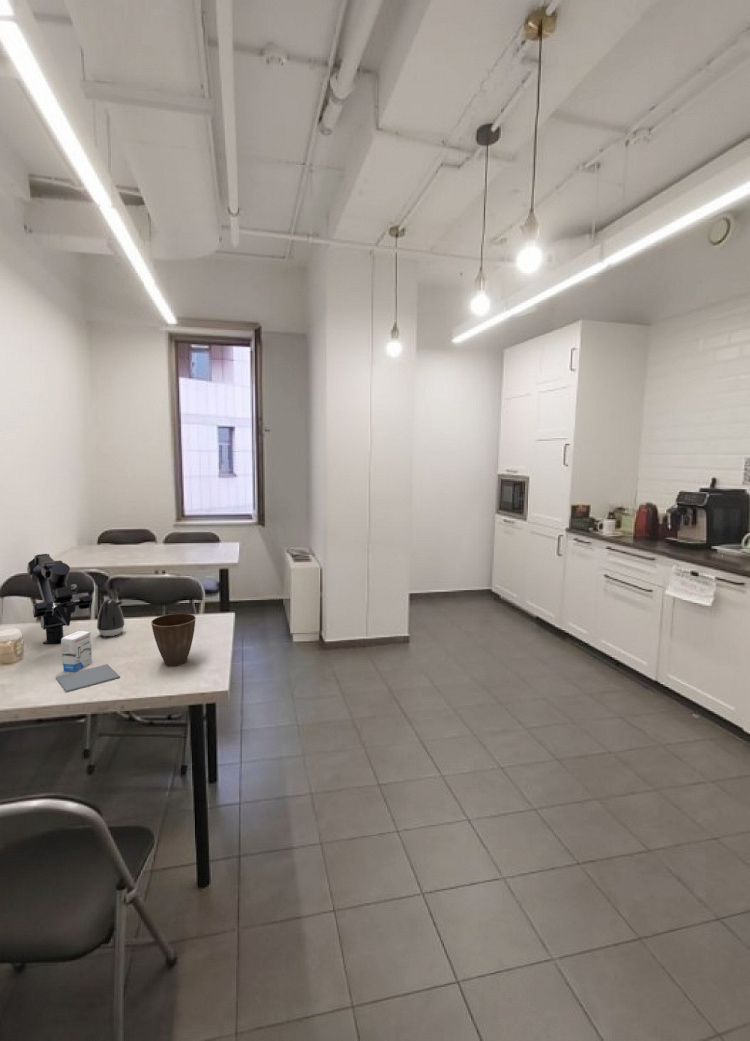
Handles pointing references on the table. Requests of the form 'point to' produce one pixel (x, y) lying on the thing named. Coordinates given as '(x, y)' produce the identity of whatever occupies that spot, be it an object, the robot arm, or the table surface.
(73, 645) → the ink box
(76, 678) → the mat
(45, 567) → the robot arm
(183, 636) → the plant pot
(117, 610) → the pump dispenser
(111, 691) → the table surface
